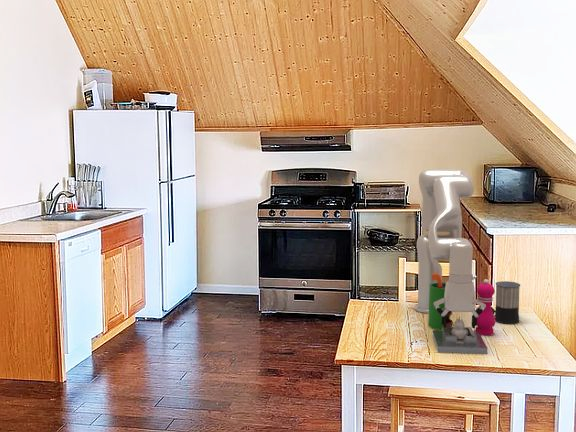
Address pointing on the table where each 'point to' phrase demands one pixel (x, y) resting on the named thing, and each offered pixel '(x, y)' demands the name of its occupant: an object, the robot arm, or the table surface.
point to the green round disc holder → (435, 295)
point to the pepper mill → (485, 309)
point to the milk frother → (507, 302)
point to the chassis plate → (459, 342)
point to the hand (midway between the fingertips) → (458, 327)
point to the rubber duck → (459, 329)
